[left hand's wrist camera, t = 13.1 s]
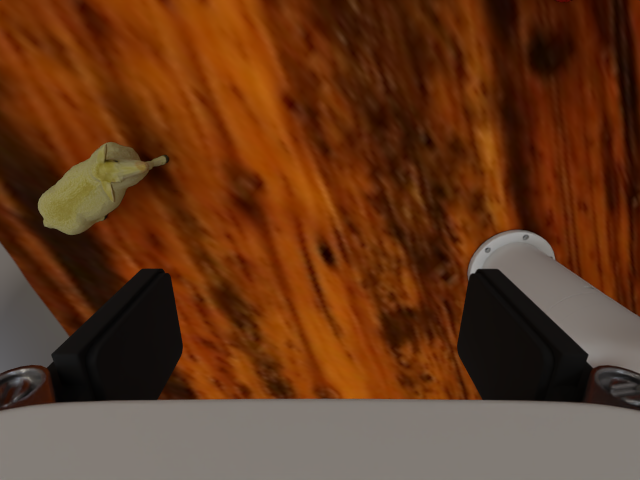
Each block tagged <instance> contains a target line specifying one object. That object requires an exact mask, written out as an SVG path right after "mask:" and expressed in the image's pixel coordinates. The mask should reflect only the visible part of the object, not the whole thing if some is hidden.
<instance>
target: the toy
mask: <svg viewBox="0 0 640 480" xmlns="http://www.w3.org/2000/svg"><path fill="white" fill-rule="evenodd" d="M168 160H169V158H168V156H167V155H163V156H160V157H158V158H155V159H153V160H152V161H147V162H143V161H141V160H140V158H139V156H138V154H137V153H136V152H135V151H134V149H133V148H131V147H125V146H121V145H118V144H117V143H113V142H109V143H106V144H104V145H102V146H101V147H100V148H99V149H97V150H96V151H95V152H94V153H93V154H92V156H91V157H90V159H88V160H86V161H84V162H82V163H79V164H77V165H75V166H73V167H72V168H71V169H70V170H69V171H68V172H67V173H65V175H64V176H63V178H62V179H61V180H59V181H58V182H57V183H56V185H54V186H52V187H51V188H50V189H49V190H47V191H46V192H45V193H44V194H43V195H42V196H41V198H40V199H39V202H38V209H39V211H40V213H41V215H42V216H43V217H44V221H43V223H44V226H46V227H49V228H56V229H58V230H60V231H62V232H64V233H66V234H70V235H74V234H78V233H81V232H83V231H85V230H87V229H88V228H89V227H91V226H92V225H93V224H94V223H96V222H99V221H103V220H105V219H106V217H107V214H108V213H110V212H111V211H113V210H114V209H115V208H117V207H118V206H119V204H120V203H121V201H122V199H123V197H124V195H125V192H126V189H127V188H128V187H130V186H133V185H135V184H137V183H138V182H139V181H140V180H142V179H143V178H144V176H146V175H147V173H148V172H149V170H150V169H152V167H154V166H160V165H164V164H166V163H167V162H168Z"/></svg>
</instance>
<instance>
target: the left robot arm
mask: <svg viewBox="0 0 640 480" xmlns="http://www.w3.org/2000/svg"><path fill="white" fill-rule="evenodd" d="M182 349H183V344H182V338H181V332H180V327H179V321H178V315H177V310H176V304H175V298H174V293H173V287H172V281H171V277H170V275H169V274H168V273H165V272H164V270H163V269H141V270H140V271H139V272H138V273H137V274H136V275H135V276H134V277H133V278H132V279H131V280H129V281H128V282H127V283H126V284H125V285H124V286H123V287H122V288H121V289H120V290H119V291H118V292H117V293H116V294H115V295H114V296H113V297H112V298H110V299H109V300H108V301H107V302H106V303H105V304H104V305H103V306H102V307H101V308H100V309H99V310H98V311H97V312H96V313H95V314H94V315H93V316H91V317H90V318H89V319H88V320H87V321H86V322H85V323H84V324H83V325H82V326H81V327H80V328H79V329H78V330H77V331H76V332H75V333H74V334H72V335H71V336H70V337H69V338H68V339H67V340H66V341H65V342H64V343H63V344H62V345H61V346H60V347H59V348H58V349H57V350H56V351H55V352H53V353H52V358H53V362H52V363H51V364H50V365H49V366H48V367H47V368H45V367H43V366H38V365H29V366H22V367H18V368H14V369H11V370H8V371H5V372H3V373H1V374H0V480H640V317H639V316H637V315H636V314H634V313H633V312H631V311H629V310H628V309H626V308H625V307H623V306H622V305H620V304H619V303H617V302H616V301H614V300H613V299H611V298H610V297H608V296H607V295H605V294H604V293H602V292H601V291H599V290H598V289H596V288H595V287H593V286H592V285H591V284H589V283H588V282H586V281H585V280H583V279H582V278H580V277H579V276H577V275H576V274H574V273H573V272H571V271H570V270H569V269H567V268H566V267H564V266H563V265H561V264H560V263H558V262H557V261H555V256H554V252H553V250H552V248H551V246H550V245H549V244H548V242H547V241H546V240H544V239H543V238H542V237H540V236H539V235H537V234H535V233H533V232H529V231H525V230H510V231H506V232H502V233H500V234H497V235H495V236H493V237H491V238H490V239H488V240H487V241H486V242H484V243H483V244H482V245H481V246H480V247H479V248H478V249H477V251H476V252H475V253H474V255H473V257H472V259H471V261H470V264H469V267H468V287H467V293H466V298H465V304H464V310H463V315H462V321H461V327H460V332H459V338H458V344H457V349H458V354H459V357H460V359H461V360H462V362H463V364H464V366H465V368H466V370H467V372H468V373H469V375H470V377H471V379H472V381H473V383H474V384H475V386H476V388H477V390H478V392H479V394H480V395H481V397H482V399H483V400H409V399H223V400H157V399H158V397H159V395H160V394H161V392H162V390H163V388H164V386H165V384H166V383H167V381H168V379H169V377H170V375H171V373H172V372H173V370H174V368H175V366H176V364H177V362H178V360H179V359H180V357H181V354H182Z"/></svg>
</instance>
